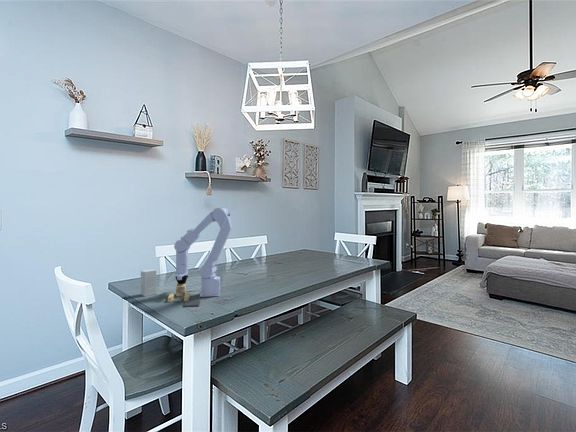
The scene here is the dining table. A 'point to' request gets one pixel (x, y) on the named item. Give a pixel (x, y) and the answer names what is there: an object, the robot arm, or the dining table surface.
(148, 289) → the skincare box
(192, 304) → the rubber mat
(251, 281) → the dining table surface
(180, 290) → the plug block
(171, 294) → the pair of wooden bars
